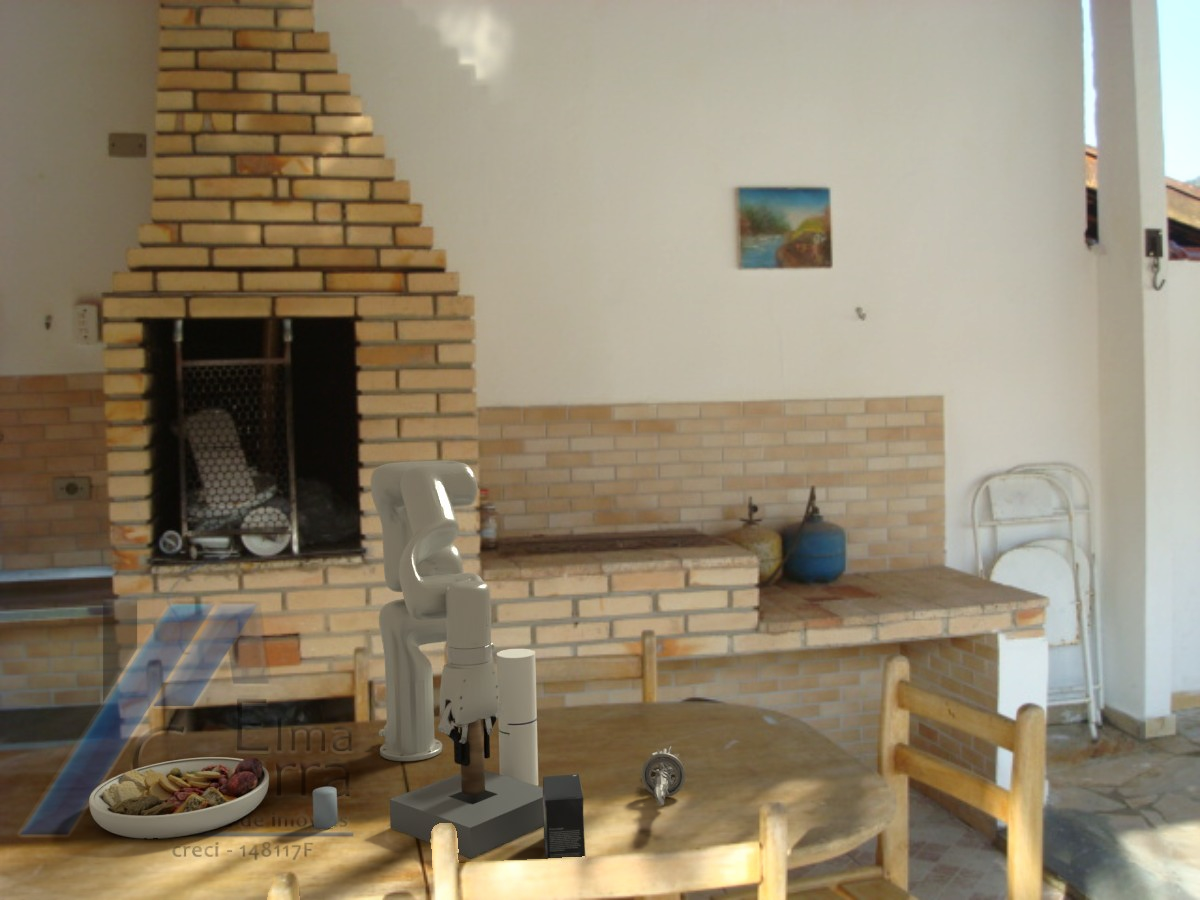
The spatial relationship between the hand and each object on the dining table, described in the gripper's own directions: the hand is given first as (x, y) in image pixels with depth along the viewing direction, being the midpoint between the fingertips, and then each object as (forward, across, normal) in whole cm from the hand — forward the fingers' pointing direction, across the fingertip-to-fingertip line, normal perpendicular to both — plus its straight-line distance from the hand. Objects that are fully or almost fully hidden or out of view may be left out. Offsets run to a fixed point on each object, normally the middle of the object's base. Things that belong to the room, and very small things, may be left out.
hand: (472, 759), depth 193 cm
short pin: (+11, +16, -20) cm, 28 cm away
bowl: (+12, +28, -46) cm, 55 cm away
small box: (+11, -2, +19) cm, 22 cm away
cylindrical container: (+11, -18, -7) cm, 22 cm away
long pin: (+5, 0, 0) cm, 5 cm away
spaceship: (+11, -30, +18) cm, 37 cm away
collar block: (+11, 0, 0) cm, 11 cm away
